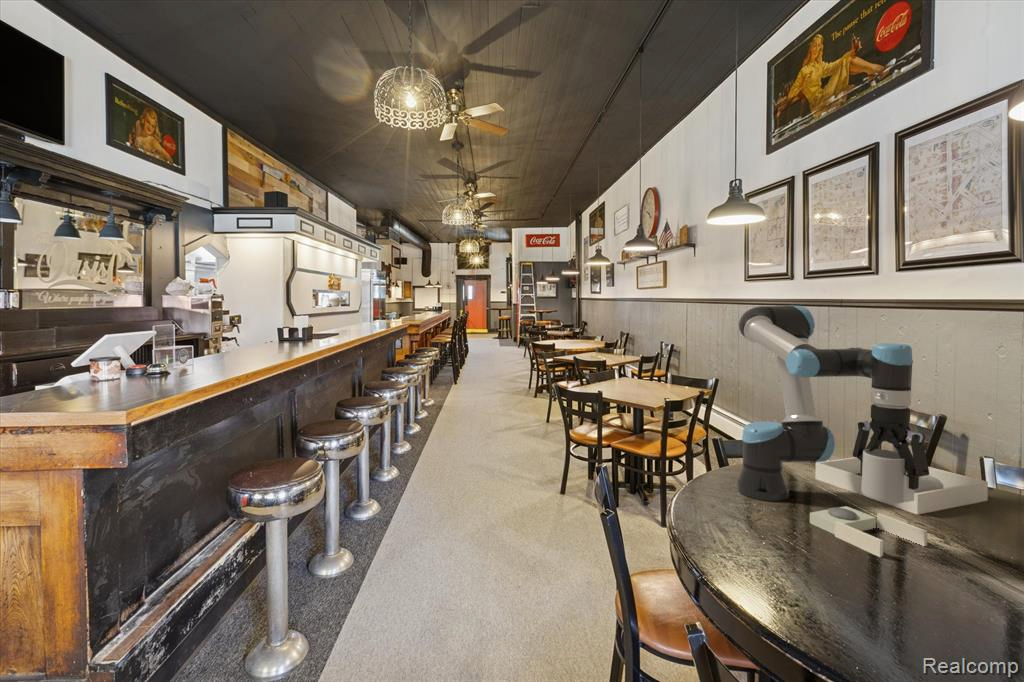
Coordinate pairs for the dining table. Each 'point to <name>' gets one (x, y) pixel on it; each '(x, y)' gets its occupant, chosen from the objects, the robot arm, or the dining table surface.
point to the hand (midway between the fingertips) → (887, 493)
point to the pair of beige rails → (864, 528)
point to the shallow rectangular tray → (952, 495)
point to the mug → (883, 475)
